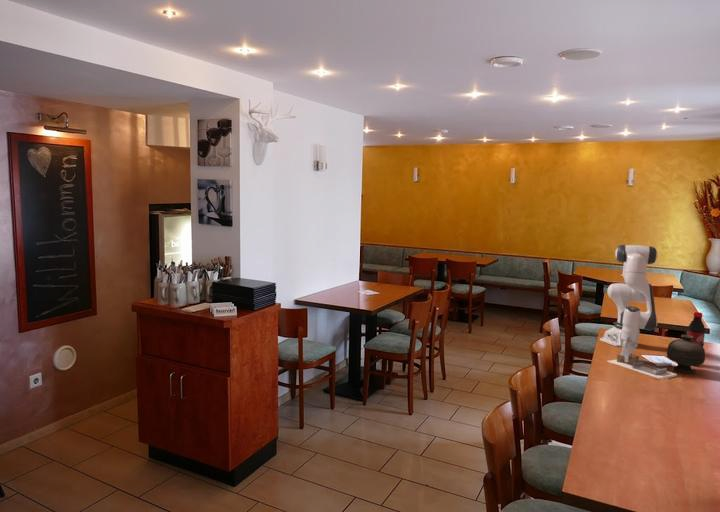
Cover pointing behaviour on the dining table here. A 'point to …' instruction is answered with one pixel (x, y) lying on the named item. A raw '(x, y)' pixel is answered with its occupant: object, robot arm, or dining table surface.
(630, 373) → the dining table surface
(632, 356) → the frame
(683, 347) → the pot
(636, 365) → the wall panel
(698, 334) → the cola bottle
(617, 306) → the robot arm
